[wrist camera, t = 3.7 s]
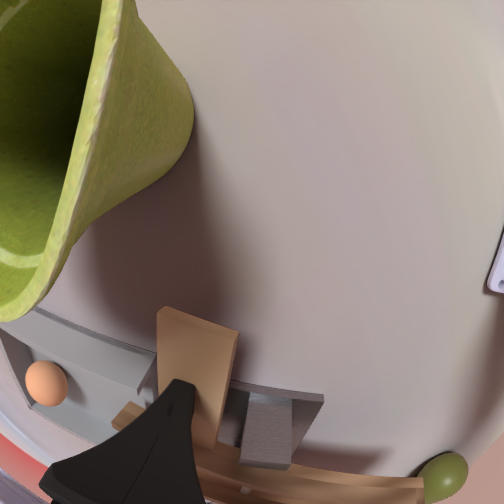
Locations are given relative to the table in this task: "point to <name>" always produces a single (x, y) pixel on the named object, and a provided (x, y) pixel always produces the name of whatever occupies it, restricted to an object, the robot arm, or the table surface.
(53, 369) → the ball
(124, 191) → the plant pot
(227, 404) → the fulcrum
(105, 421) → the tray
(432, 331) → the table surface
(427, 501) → the pear
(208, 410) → the plank
